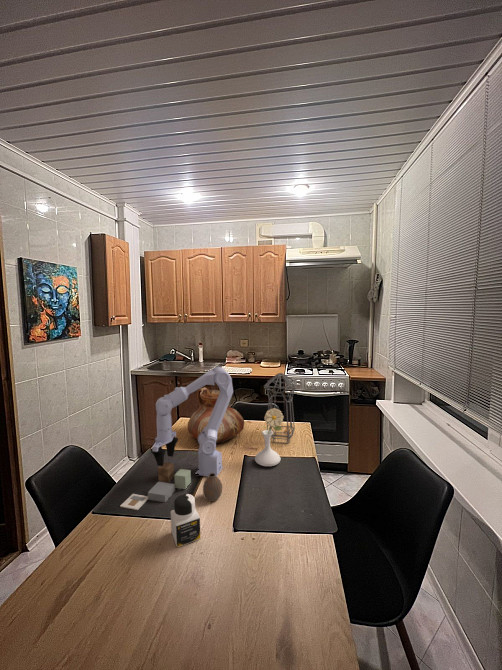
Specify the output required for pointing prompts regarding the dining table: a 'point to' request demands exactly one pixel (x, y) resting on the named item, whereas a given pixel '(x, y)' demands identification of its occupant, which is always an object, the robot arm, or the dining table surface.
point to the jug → (200, 418)
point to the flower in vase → (267, 454)
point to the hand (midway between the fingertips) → (165, 460)
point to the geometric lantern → (282, 401)
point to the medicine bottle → (185, 520)
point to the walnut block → (166, 472)
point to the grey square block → (161, 491)
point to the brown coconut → (212, 487)
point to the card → (134, 501)
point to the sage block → (182, 478)
